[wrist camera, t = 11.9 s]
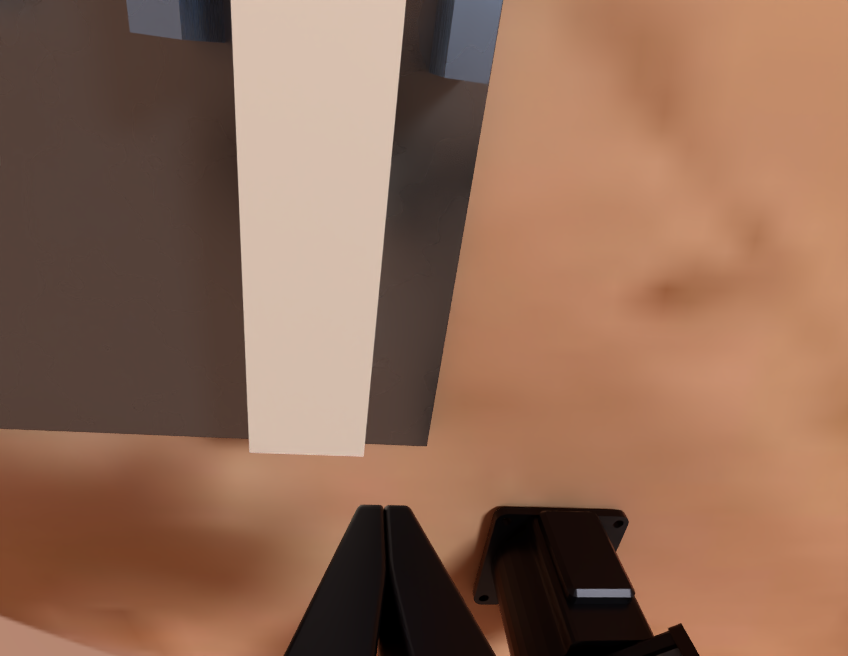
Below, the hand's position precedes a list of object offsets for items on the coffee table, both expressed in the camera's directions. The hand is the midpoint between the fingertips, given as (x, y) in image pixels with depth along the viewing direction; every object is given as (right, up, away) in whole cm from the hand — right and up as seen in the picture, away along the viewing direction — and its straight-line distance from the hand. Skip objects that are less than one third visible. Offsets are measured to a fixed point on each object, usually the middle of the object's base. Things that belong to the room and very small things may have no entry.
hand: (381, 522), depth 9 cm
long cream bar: (-2, +8, +7) cm, 11 cm away
